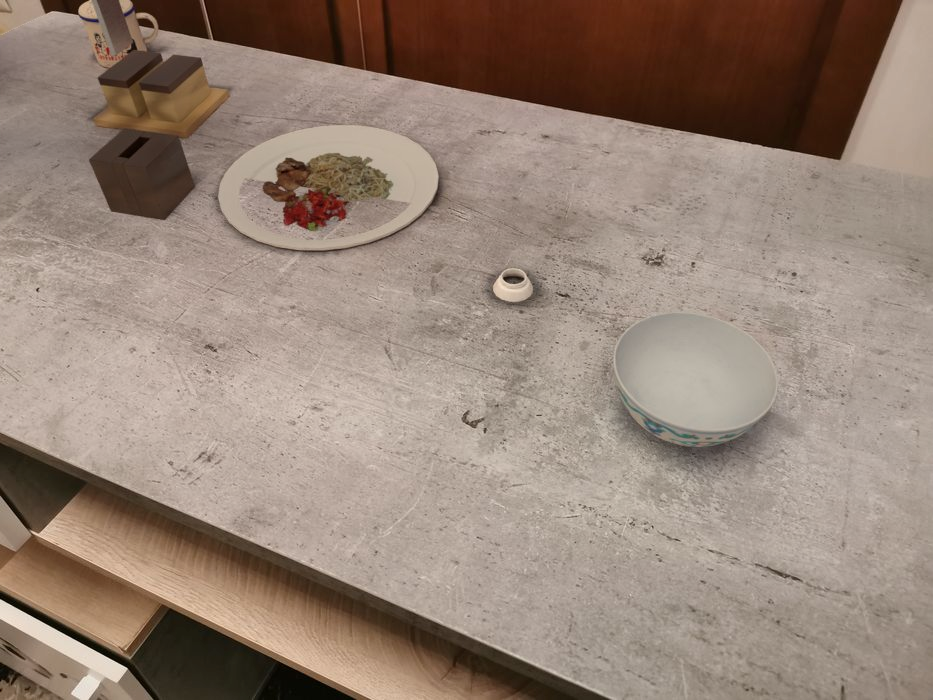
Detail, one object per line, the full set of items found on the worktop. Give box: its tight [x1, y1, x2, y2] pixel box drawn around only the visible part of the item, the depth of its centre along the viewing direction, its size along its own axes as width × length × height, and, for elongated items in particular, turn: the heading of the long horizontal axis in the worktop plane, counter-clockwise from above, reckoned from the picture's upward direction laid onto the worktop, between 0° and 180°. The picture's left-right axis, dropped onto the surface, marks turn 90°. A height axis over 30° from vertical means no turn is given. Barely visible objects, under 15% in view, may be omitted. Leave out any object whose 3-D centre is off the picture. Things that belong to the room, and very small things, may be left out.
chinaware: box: [612, 311, 779, 448], centre depth 71 cm, size 15×15×8 cm
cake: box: [92, 50, 230, 139], centre depth 115 cm, size 16×14×7 cm
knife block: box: [88, 128, 196, 221], centre depth 96 cm, size 8×8×9 cm
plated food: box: [217, 124, 439, 251], centre depth 100 cm, size 30×30×3 cm
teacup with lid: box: [77, 0, 159, 69], centre depth 127 cm, size 12×9×12 cm
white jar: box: [492, 267, 534, 303], centre depth 85 cm, size 5×3×5 cm
